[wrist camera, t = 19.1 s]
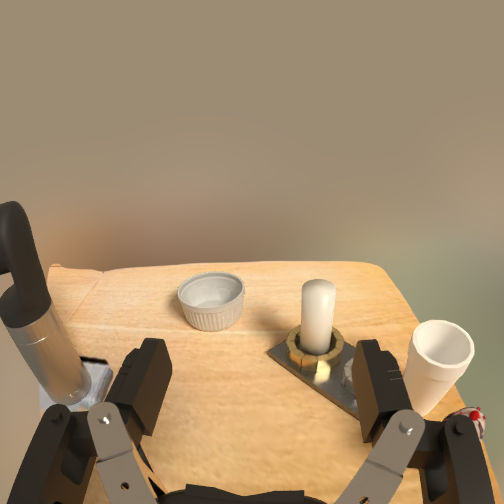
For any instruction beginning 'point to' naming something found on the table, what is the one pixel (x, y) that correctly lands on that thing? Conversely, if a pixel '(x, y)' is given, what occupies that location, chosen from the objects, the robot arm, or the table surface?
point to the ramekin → (212, 300)
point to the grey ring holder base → (321, 368)
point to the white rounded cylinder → (317, 316)
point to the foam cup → (435, 362)
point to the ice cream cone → (472, 418)
